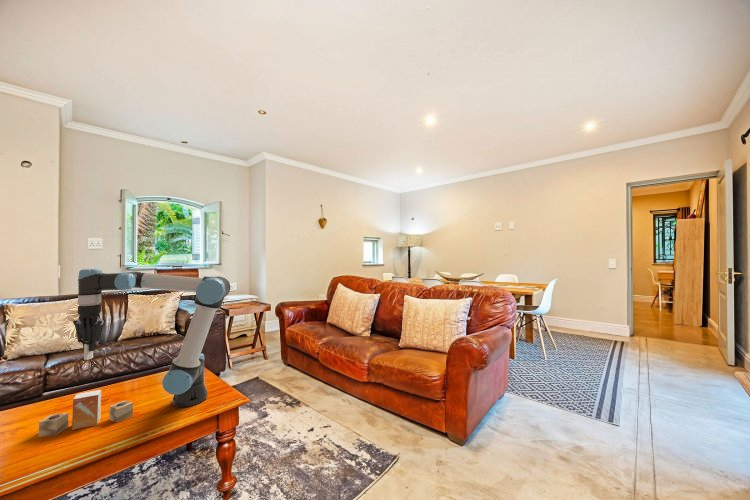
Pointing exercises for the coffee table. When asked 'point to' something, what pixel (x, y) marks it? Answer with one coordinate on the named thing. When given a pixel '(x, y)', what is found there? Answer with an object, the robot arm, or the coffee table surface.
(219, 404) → the coffee table surface
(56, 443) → the coffee table surface
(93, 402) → the small box
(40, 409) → the coffee table surface
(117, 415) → the marked block
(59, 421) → the marked block
